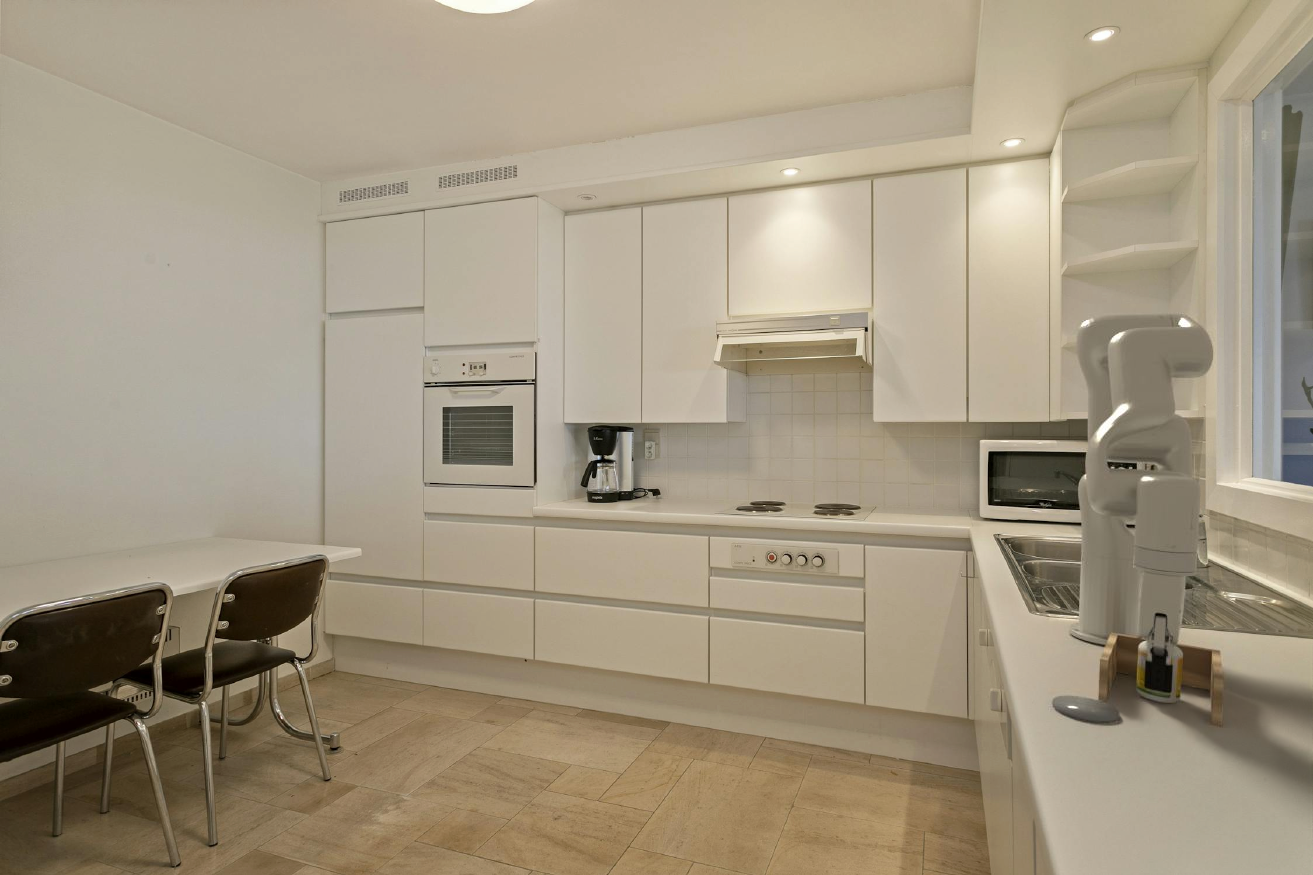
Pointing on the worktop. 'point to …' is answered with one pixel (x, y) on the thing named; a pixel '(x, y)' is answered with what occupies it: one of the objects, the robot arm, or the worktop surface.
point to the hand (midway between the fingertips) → (1158, 682)
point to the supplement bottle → (1176, 676)
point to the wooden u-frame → (1196, 668)
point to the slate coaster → (1086, 709)
